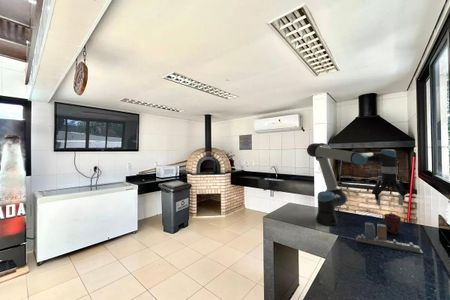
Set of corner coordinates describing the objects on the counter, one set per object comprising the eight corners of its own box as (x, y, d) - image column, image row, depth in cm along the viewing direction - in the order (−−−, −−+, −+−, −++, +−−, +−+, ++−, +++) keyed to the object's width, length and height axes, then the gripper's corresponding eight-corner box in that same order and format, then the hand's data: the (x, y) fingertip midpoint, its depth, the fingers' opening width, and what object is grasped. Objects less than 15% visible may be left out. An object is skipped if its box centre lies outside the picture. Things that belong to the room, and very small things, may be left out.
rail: (356, 241, 119) (355, 223, 119) (355, 238, 124) (355, 220, 124) (423, 254, 104) (422, 232, 104) (420, 249, 108) (419, 229, 108)
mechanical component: (396, 229, 135) (406, 236, 125) (380, 228, 137) (389, 235, 127) (395, 212, 134) (406, 217, 125) (379, 211, 136) (388, 216, 127)
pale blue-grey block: (377, 237, 124) (377, 223, 124) (385, 238, 122) (385, 224, 122) (378, 240, 120) (378, 226, 120) (386, 242, 118) (386, 227, 118)
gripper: (372, 173, 124) (372, 206, 124) (414, 173, 121) (415, 206, 122) (365, 172, 132) (365, 203, 132) (404, 172, 129) (405, 203, 129)
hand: (389, 205), depth 127 cm, fingers open, 13 cm apart
